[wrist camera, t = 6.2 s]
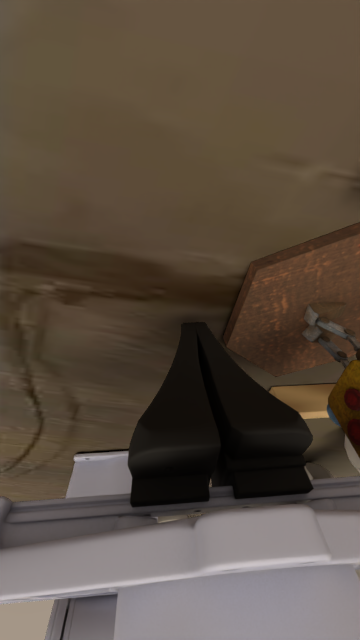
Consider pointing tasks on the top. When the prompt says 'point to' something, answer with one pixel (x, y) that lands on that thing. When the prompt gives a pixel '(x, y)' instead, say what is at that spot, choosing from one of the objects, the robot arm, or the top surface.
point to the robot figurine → (306, 317)
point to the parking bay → (305, 398)
